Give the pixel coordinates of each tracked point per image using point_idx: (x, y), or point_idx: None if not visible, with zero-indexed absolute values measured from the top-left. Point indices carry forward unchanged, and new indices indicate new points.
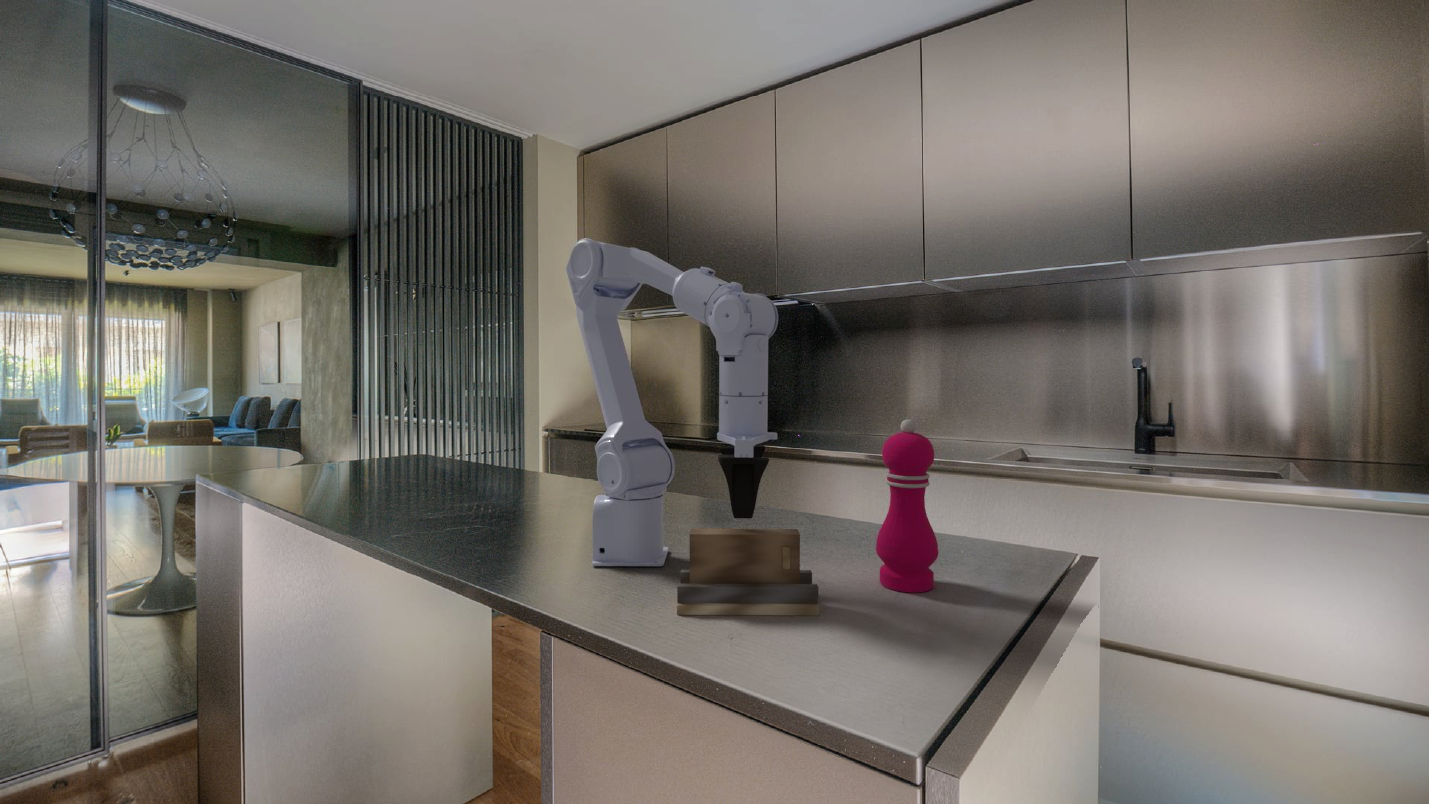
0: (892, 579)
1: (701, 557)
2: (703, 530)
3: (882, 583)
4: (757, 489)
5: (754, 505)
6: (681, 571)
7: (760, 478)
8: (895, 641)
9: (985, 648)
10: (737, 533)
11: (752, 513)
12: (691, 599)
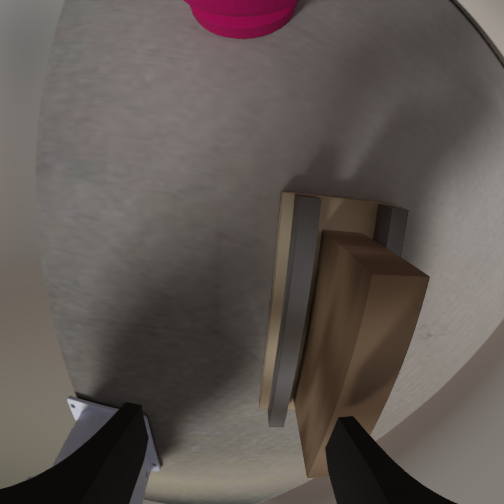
0: (280, 21)
1: None
2: (325, 464)
3: (250, 37)
4: (407, 473)
5: (373, 439)
6: (278, 426)
7: (438, 495)
8: (471, 129)
9: (476, 43)
10: (372, 417)
11: (359, 425)
12: None
